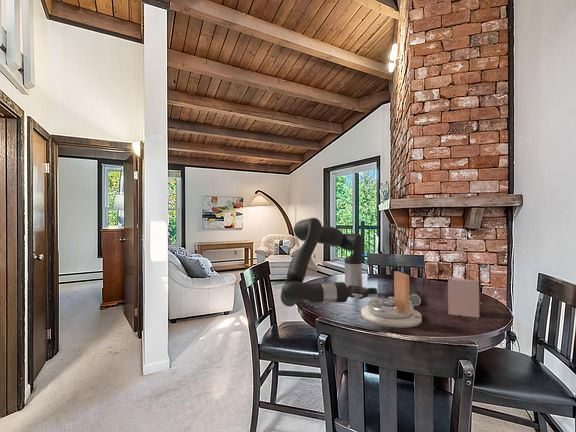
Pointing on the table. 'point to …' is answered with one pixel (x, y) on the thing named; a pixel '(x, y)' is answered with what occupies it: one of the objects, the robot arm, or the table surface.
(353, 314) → the table surface
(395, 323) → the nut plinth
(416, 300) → the flashlight
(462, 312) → the greeting card
